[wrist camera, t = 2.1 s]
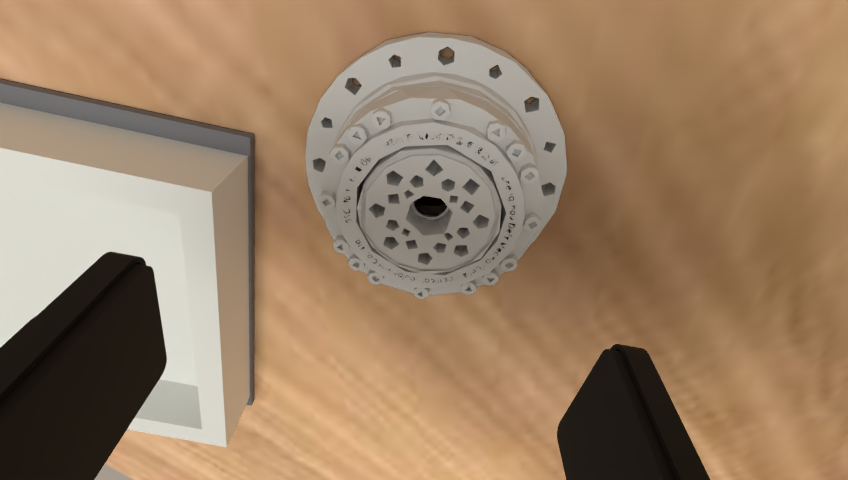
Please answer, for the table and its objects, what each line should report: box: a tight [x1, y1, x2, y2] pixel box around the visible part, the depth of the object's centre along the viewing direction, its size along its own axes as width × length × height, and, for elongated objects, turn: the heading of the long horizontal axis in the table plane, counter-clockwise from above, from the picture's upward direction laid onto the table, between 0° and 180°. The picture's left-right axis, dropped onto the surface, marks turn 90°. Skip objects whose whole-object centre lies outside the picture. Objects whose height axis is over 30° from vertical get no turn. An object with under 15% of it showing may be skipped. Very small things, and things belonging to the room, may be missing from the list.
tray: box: [0, 103, 250, 447], centre depth 21 cm, size 15×15×3 cm
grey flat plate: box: [0, 79, 254, 405], centre depth 22 cm, size 16×17×1 cm
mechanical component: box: [305, 32, 567, 300], centre depth 17 cm, size 10×4×10 cm
